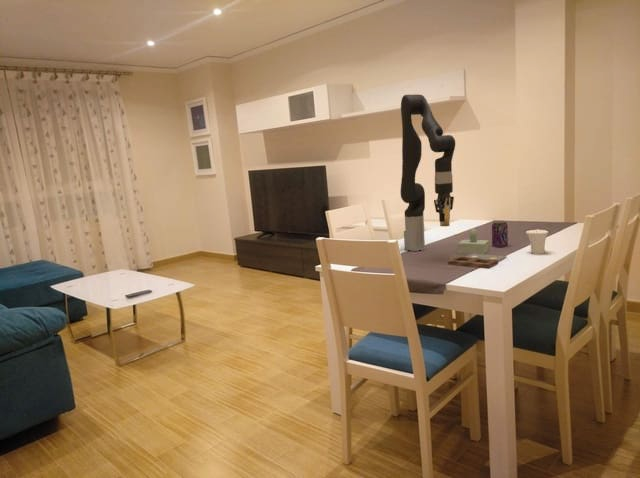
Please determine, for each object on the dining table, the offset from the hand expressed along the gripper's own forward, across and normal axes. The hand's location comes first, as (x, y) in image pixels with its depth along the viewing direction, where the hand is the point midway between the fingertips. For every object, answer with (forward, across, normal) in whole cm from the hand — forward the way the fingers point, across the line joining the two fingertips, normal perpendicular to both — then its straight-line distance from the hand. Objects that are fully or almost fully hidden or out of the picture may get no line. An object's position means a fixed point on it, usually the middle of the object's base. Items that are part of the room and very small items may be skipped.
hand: (444, 220), depth 204 cm
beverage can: (+18, -35, +10) cm, 41 cm away
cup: (+18, -27, +30) cm, 44 cm away
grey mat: (+18, -8, +14) cm, 24 cm away
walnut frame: (+18, +3, +14) cm, 23 cm away
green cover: (+18, -19, +4) cm, 27 cm away
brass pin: (+2, 0, 0) cm, 2 cm away
